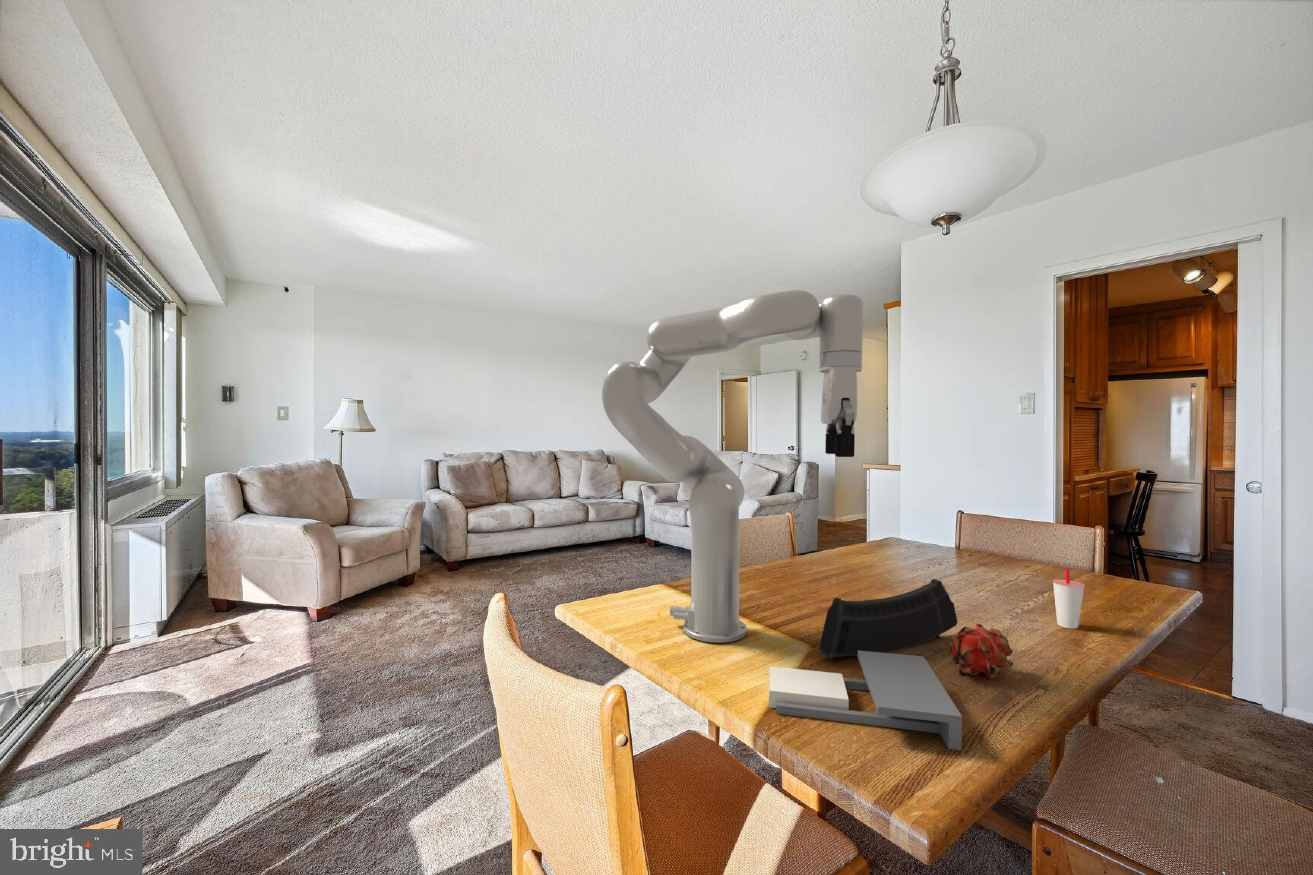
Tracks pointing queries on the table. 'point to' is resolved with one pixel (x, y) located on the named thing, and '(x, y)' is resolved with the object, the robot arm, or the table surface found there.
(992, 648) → the dragon fruit
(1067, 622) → the cup
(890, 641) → the magazine
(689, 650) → the table surface
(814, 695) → the white rounded slab
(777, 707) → the dock
